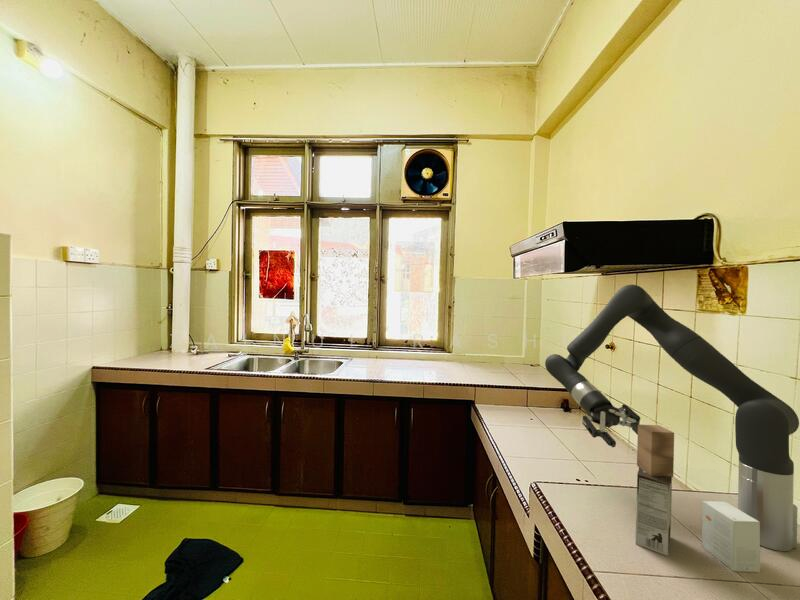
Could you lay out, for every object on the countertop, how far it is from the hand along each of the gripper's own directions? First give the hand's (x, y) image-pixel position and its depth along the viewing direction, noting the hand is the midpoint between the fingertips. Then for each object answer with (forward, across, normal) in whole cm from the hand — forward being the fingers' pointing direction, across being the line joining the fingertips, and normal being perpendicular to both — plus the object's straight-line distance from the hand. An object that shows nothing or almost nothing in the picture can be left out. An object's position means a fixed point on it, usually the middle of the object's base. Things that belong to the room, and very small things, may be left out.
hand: (629, 440), depth 96 cm
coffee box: (+19, -8, +10) cm, 23 cm away
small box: (+26, +4, +10) cm, 28 cm away
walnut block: (+11, -3, -4) cm, 13 cm away
